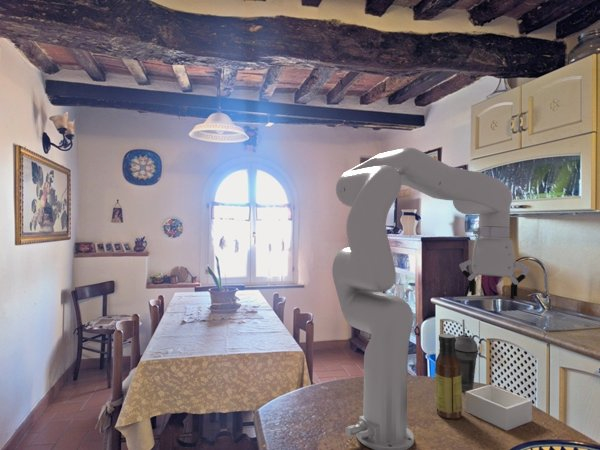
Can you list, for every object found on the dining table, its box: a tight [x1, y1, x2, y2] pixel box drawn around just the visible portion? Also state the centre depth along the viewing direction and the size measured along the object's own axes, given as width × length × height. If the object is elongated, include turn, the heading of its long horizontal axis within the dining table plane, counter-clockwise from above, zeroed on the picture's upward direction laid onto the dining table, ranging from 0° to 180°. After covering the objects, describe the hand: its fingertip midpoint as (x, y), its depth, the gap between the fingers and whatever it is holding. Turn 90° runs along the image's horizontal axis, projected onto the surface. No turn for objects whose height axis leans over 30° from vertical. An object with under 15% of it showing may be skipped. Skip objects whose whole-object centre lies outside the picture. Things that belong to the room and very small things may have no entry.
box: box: [464, 384, 533, 431], centre depth 100 cm, size 10×11×5 cm
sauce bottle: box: [434, 333, 463, 420], centre depth 100 cm, size 7×6×20 cm
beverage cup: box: [455, 319, 479, 392], centre depth 117 cm, size 7×7×20 cm
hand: (492, 296), depth 108 cm, fingers open, 9 cm apart
